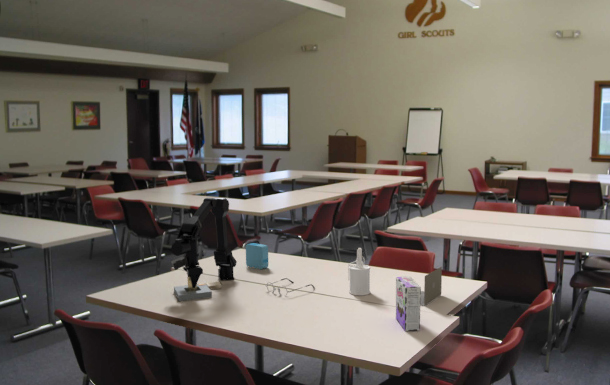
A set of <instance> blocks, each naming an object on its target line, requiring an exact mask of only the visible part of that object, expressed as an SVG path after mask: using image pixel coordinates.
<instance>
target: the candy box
mask: <svg viewBox="0 0 610 385" xmlns="http://www.w3.org/2000/svg"><path fill="white" fill-rule="evenodd" d="M421 291H422V288H421V285H420V284H418V283H417V282H416V281H415V280H414V279H413V278H412V277H411V276H396V277H395V320H396V321H397V322H398V323H399V325H400V326H401V328H402V329H403V330H404V332H420V331H421V305H420V299H421Z"/></svg>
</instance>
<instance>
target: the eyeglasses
mask: <svg viewBox="0 0 610 385" xmlns="http://www.w3.org/2000/svg"><path fill="white" fill-rule="evenodd" d="M284 280H288V281H289V282H290V283H292V284H294V283H295V282H294V281H292V280H291V279H289V278H287V277H286V278H282V279H280V280H278V281H277V280H276V281H274V282H269V281H268V282H267V283H266V285H265V287H266V288H267V291H268V292H269V293H272V294H273V293H275V291H276V290H277V291H278V294H279V295H280V296H282V293H281V288H280V287H277V286H275V285H274V284H275V283H278V282H281V281H284ZM268 286H272V288H273V291H272V292H271V291H270V290H269V287H268ZM309 286H312V289H315V286H314V285H313V284H307V285H305V286H301V287H299V288H295V289H292V290H288V289H287V288H286V286H285V285H283V287H284V288H285V291H286V293H285V294H286V295H285V296H288V293H292V292H294V291H297V290H300V289H302V288H307V287H309Z"/></svg>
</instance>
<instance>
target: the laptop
mask: <svg viewBox="0 0 610 385" xmlns="http://www.w3.org/2000/svg"><path fill="white" fill-rule="evenodd" d="M442 271H443V268H442V266H440V267H438V268H436V269H435V270H433V271H430V272H429V273H428V274H426V275H424V286H423V287H424V291H423V290H421V299H420V306H422V307H425V306H427V305H429V304H431V303H432V302H433V301H435V300H436V299H438V298H439V297H441V295H442V279H443V276H442Z"/></svg>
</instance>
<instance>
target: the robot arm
mask: <svg viewBox="0 0 610 385" xmlns="http://www.w3.org/2000/svg"><path fill="white" fill-rule="evenodd" d="M229 209H230V202H229V200H228V199H227V198H223V197H205V198H204V199H203V201H202V203H201V204H200V205H199V207H198V208H197V210H196V211H195V213H194V214H193V215H192V216H191V217H189V218H187V219H185V221H184V222H182V224H181V226H180V228H179V231H178V233H177V236H176V239H175V240H174V243H172V245H171V248H170V250H171V253H172V254H173V255H174V256H177V257H178V258H176V259H173V260H172V261H170V262H171V265H172V267H173V269H174V270H175V271H177V270H179V269H181V268H182V269H183V271H185V272H186V275H187V277H188V276H190V279H191V283H192V288H195V287H196V284H198V282H199V279H200V277H201V275H202V274H203V273H204V272H203V270H204V269H203V268H202V267H201V266H200V262H199V256H200V254H199V249H198V244H199V242H198V240H200V239H201V237H200V236H199V233H200V232H201V229H202V224H203V222H204V220H206V218H207V216H208V215H209V214H210V212H211V213H212V214H213V216H214V219H215V230H216V242H217V247H216V249H215V250H214V251H213V259H214V262H215V266H216V267H219V268H218V269H217V270H218V271H217V275H218V276H217V277H218V278H219V279H220V280H221V281H229V280H235V277H234V268H236V266H237V262H238V261H237V260H236V258H235V257H234V256H233V251H232V249H231V248H230V246H229V242H228V241H229V240H228V227H227V215H228V213H229V211H230V210H229ZM180 256H181V257H180Z"/></svg>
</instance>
